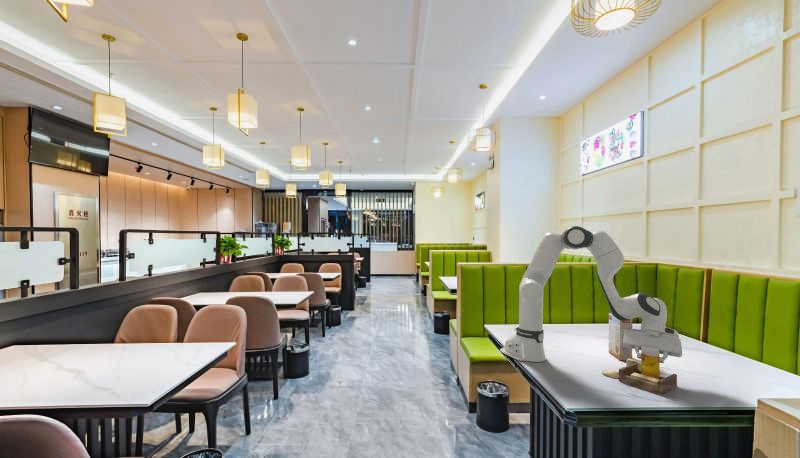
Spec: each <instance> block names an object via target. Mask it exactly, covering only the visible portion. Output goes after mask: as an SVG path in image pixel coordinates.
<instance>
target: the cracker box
mask: <svg viewBox="0 0 800 458" xmlns="http://www.w3.org/2000/svg"><path fill="white" fill-rule="evenodd" d="M628 328H632V329H633V318H632V319H630V320H627V321H621V320H618V319H617V318H615V317H614V316H613V315H612V314H611V312H608V353H609V354H611V355H612V356H614V358H616V359H617V360H619V361H623V362H626V359H629V358H631V359H633V349H632V348H627V347H625V346H624V345H623V338H624V330H625V329H628Z"/></svg>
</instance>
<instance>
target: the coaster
mask: <svg viewBox="0 0 800 458" xmlns="http://www.w3.org/2000/svg"><path fill="white" fill-rule="evenodd" d="M601 372H602V373H601V374H602V375H603V376H605V377H607V378H611V379H617V380H619V371H616V370H615V371H614V370H608V369H605V370H602V371H601Z"/></svg>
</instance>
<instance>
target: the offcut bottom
mask: <svg viewBox="0 0 800 458" xmlns="http://www.w3.org/2000/svg"><path fill="white" fill-rule="evenodd" d="M631 377H633V378H637V379H640V380H643V381H646V382H650V383H653V384H656V385H658V381H659V380H660V379H656V378H653V377H649V376H645V375H642V374H638V373H632V374H631Z"/></svg>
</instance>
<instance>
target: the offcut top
mask: <svg viewBox="0 0 800 458" xmlns="http://www.w3.org/2000/svg"><path fill="white" fill-rule="evenodd" d="M625 362H626V365H625V367H626V366H628V365H631V364H634V363H637V364H638V370H641V360H637V359H634V358H632V359H631V358H629V359H626V361H625Z"/></svg>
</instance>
